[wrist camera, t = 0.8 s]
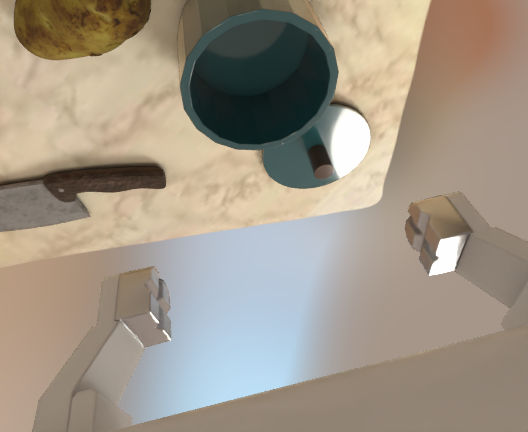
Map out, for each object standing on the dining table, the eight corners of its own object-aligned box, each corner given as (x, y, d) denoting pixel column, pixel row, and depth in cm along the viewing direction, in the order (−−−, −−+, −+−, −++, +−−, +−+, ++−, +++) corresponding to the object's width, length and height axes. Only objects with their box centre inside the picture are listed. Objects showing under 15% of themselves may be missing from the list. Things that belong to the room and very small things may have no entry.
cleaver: (156, 151, 50) (156, 163, 49) (178, 198, 58) (178, 209, 57) (-66, 193, 50) (-72, 205, 49) (-14, 234, 58) (-18, 246, 57)
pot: (154, -15, 35) (154, 35, 30) (311, -53, 35) (339, -10, 29) (200, 111, 47) (205, 163, 41) (317, 83, 46) (338, 132, 41)
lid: (252, 116, 48) (259, 143, 45) (372, 88, 48) (386, 113, 45) (269, 192, 61) (275, 218, 58) (364, 170, 60) (375, 195, 57)
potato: (-23, -51, 31) (-56, -7, 26) (133, -87, 31) (128, -49, 26) (40, 46, 38) (23, 95, 33) (168, 17, 37) (169, 61, 33)
